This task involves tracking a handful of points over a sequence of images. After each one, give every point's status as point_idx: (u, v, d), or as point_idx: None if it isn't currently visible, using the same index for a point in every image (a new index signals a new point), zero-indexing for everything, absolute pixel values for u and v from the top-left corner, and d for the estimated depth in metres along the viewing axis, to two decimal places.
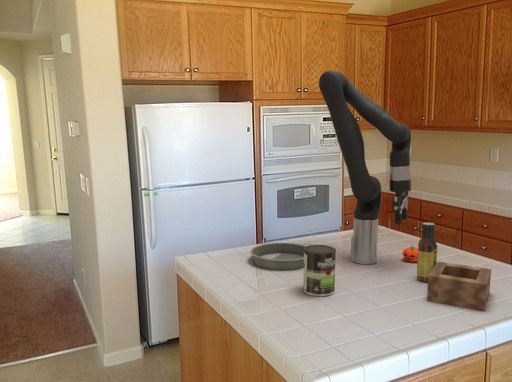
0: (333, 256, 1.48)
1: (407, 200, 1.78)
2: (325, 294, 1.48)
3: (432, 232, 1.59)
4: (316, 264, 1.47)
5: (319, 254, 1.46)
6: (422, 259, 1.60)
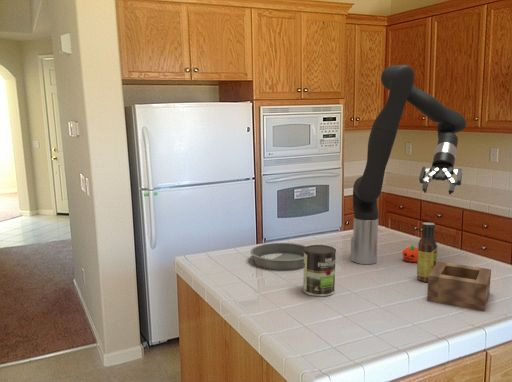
0: (333, 256, 1.48)
1: (424, 177, 1.76)
2: (325, 294, 1.48)
3: (432, 232, 1.59)
4: (316, 264, 1.47)
5: (319, 254, 1.46)
6: (422, 259, 1.60)
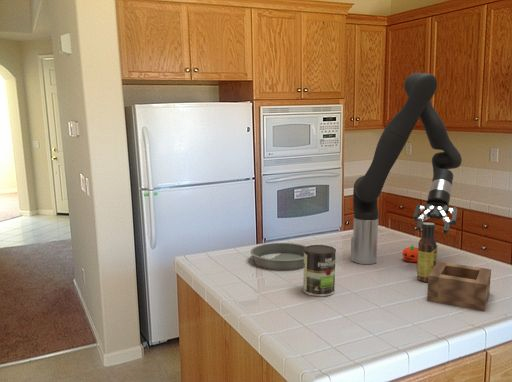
0: (333, 256, 1.48)
1: None
2: (325, 294, 1.48)
3: (432, 232, 1.59)
4: (316, 264, 1.47)
5: (319, 254, 1.46)
6: (422, 259, 1.60)
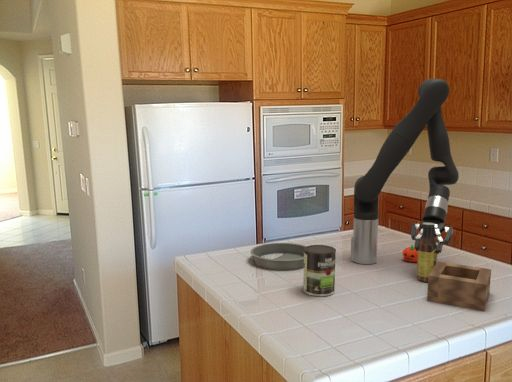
0: (333, 256, 1.48)
1: (415, 233, 1.68)
2: (325, 294, 1.48)
3: (432, 232, 1.59)
4: (316, 264, 1.47)
5: (319, 254, 1.46)
6: (422, 259, 1.60)
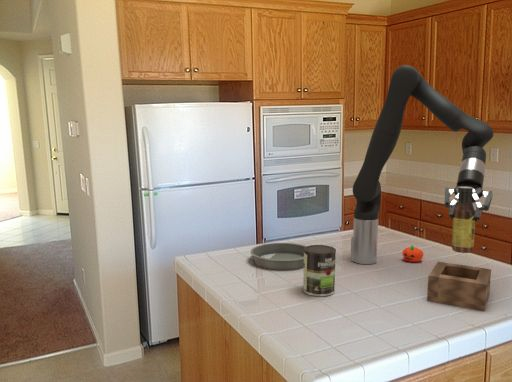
0: (333, 256, 1.48)
1: None
2: (325, 294, 1.48)
3: (470, 197, 1.42)
4: (316, 264, 1.47)
5: (319, 254, 1.46)
6: (458, 228, 1.42)
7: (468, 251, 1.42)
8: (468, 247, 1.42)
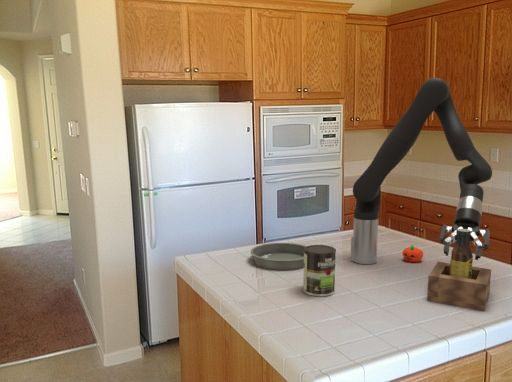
0: (333, 256, 1.48)
1: (445, 236, 1.52)
2: (325, 294, 1.48)
3: (468, 240, 1.44)
4: (316, 264, 1.47)
5: (319, 254, 1.46)
6: (456, 270, 1.44)
7: None
8: None
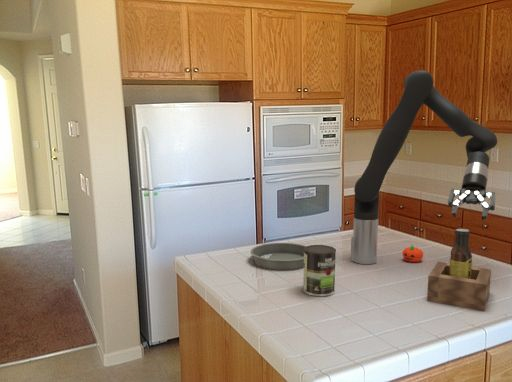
0: (333, 256, 1.48)
1: None
2: (325, 294, 1.48)
3: (466, 239, 1.44)
4: (316, 264, 1.47)
5: (319, 254, 1.46)
6: (455, 270, 1.44)
7: None
8: None
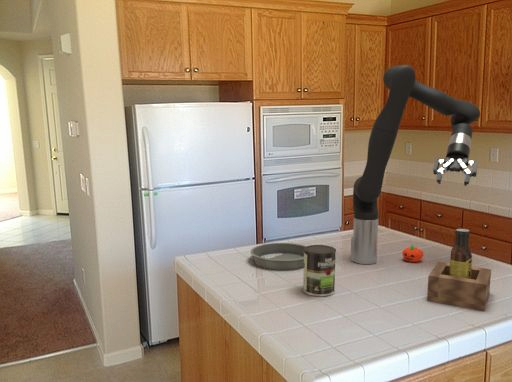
0: (333, 256, 1.48)
1: None
2: (325, 294, 1.48)
3: (467, 239, 1.44)
4: (316, 264, 1.47)
5: (319, 254, 1.46)
6: (455, 270, 1.44)
7: None
8: None
